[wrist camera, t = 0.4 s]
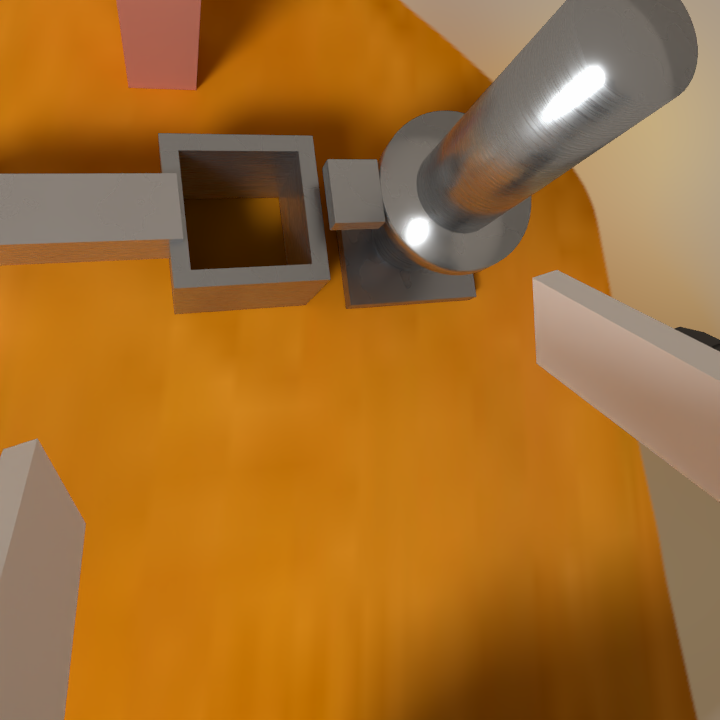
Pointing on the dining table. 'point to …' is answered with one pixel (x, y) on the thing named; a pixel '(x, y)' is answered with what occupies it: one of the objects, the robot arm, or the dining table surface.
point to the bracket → (177, 217)
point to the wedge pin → (160, 42)
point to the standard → (501, 151)
